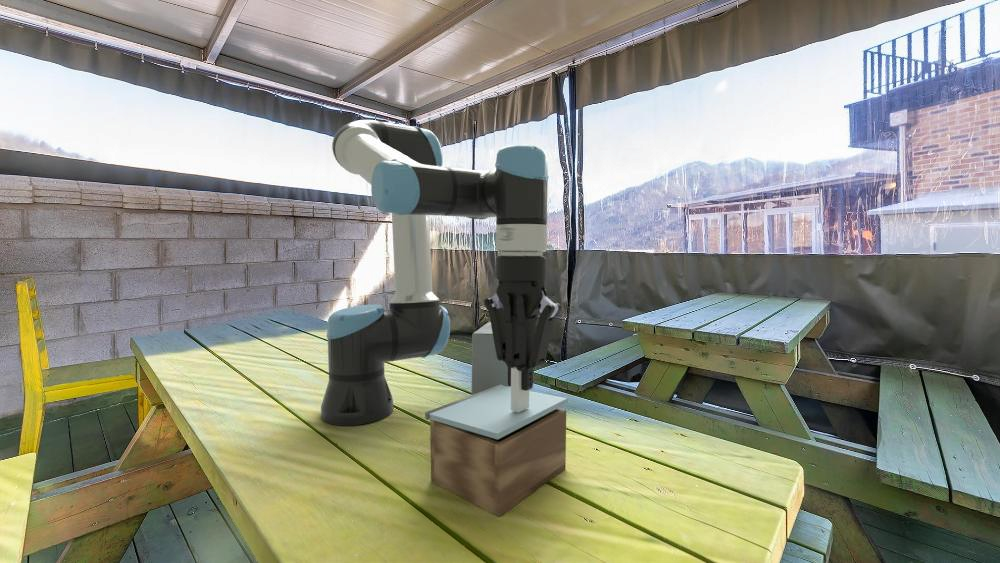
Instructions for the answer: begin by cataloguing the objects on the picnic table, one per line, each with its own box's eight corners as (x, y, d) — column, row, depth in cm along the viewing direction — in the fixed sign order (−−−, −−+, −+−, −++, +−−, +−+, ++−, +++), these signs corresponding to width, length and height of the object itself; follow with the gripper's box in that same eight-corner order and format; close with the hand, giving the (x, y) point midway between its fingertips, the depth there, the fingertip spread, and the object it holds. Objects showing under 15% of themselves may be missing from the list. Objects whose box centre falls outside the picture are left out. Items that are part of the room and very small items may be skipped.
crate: (430, 481, 68) (430, 419, 67) (500, 443, 81) (500, 391, 80) (499, 517, 59) (499, 446, 58) (565, 468, 72) (566, 409, 71)
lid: (424, 419, 67) (424, 411, 67) (498, 390, 81) (498, 383, 81) (497, 441, 58) (497, 432, 58) (567, 404, 71) (567, 397, 71)
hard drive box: (508, 436, 84) (508, 335, 83) (470, 433, 86) (470, 333, 84) (520, 407, 99) (521, 321, 98) (488, 405, 101) (488, 320, 99)
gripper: (472, 253, 66) (472, 405, 68) (543, 255, 58) (541, 428, 59) (503, 253, 72) (502, 393, 74) (572, 254, 63) (569, 412, 65)
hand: (520, 408), depth 66 cm, fingers closed
